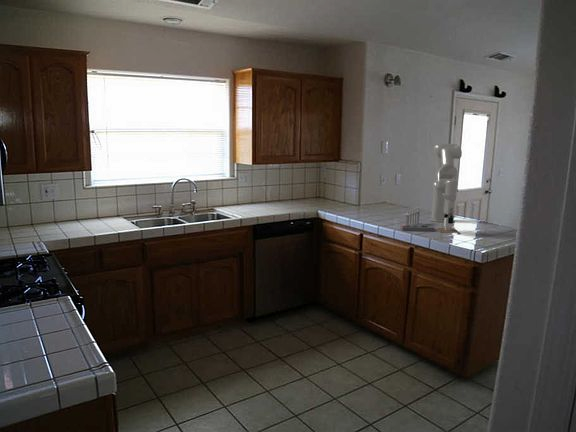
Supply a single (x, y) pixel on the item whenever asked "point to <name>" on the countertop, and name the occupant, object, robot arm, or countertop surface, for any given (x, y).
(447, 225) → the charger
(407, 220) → the test tube rack
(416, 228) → the power strip
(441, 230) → the walnut board
